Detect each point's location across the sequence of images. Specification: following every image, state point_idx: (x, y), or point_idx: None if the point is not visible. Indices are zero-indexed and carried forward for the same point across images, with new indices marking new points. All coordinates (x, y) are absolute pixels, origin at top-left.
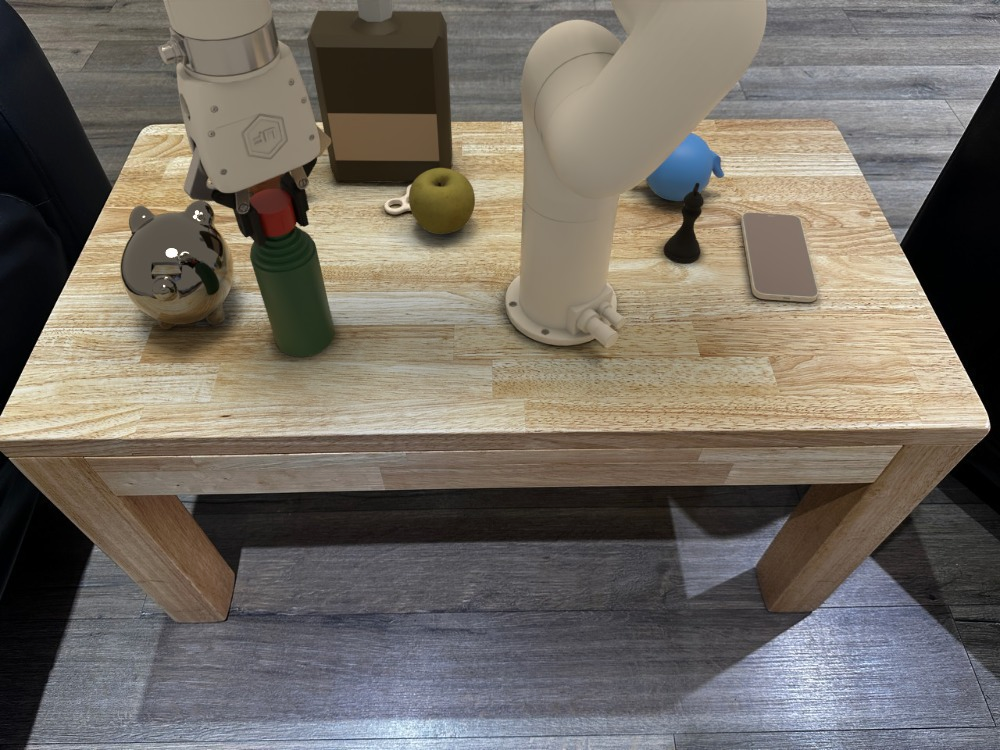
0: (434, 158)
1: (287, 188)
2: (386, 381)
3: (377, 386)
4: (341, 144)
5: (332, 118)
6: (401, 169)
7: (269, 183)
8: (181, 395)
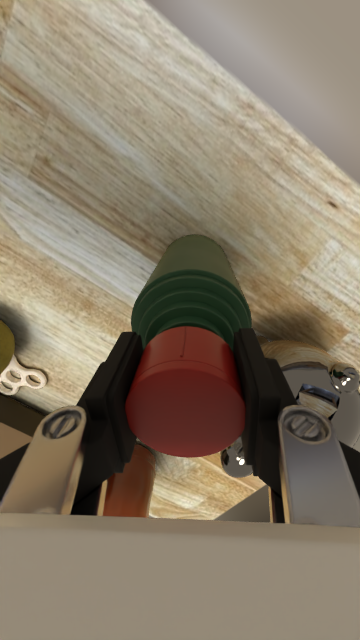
0: None
1: (120, 431)
2: (144, 132)
3: (158, 131)
4: None
5: None
6: (6, 413)
7: (134, 456)
8: (348, 266)
